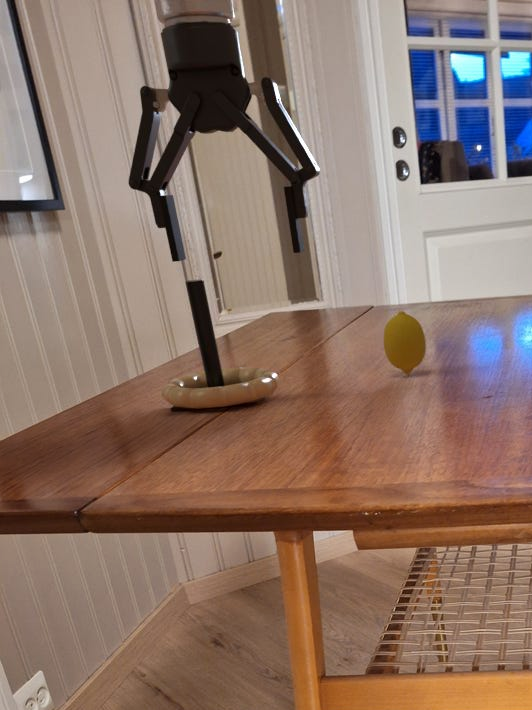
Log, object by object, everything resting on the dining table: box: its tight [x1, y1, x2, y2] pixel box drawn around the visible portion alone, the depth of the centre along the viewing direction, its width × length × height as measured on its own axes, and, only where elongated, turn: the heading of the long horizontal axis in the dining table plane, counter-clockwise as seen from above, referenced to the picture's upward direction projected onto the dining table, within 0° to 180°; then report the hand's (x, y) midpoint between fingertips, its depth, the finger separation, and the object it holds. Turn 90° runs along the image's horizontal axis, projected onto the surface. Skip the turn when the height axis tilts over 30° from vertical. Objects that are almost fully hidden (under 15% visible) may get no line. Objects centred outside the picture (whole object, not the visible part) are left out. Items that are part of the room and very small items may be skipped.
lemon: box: [383, 310, 427, 375], centre depth 114 cm, size 6×6×8 cm
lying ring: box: [160, 367, 281, 408], centre depth 104 cm, size 13×13×2 cm
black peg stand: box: [170, 278, 266, 413], centre depth 101 cm, size 9×9×14 cm
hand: (239, 256), depth 97 cm, fingers open, 13 cm apart
